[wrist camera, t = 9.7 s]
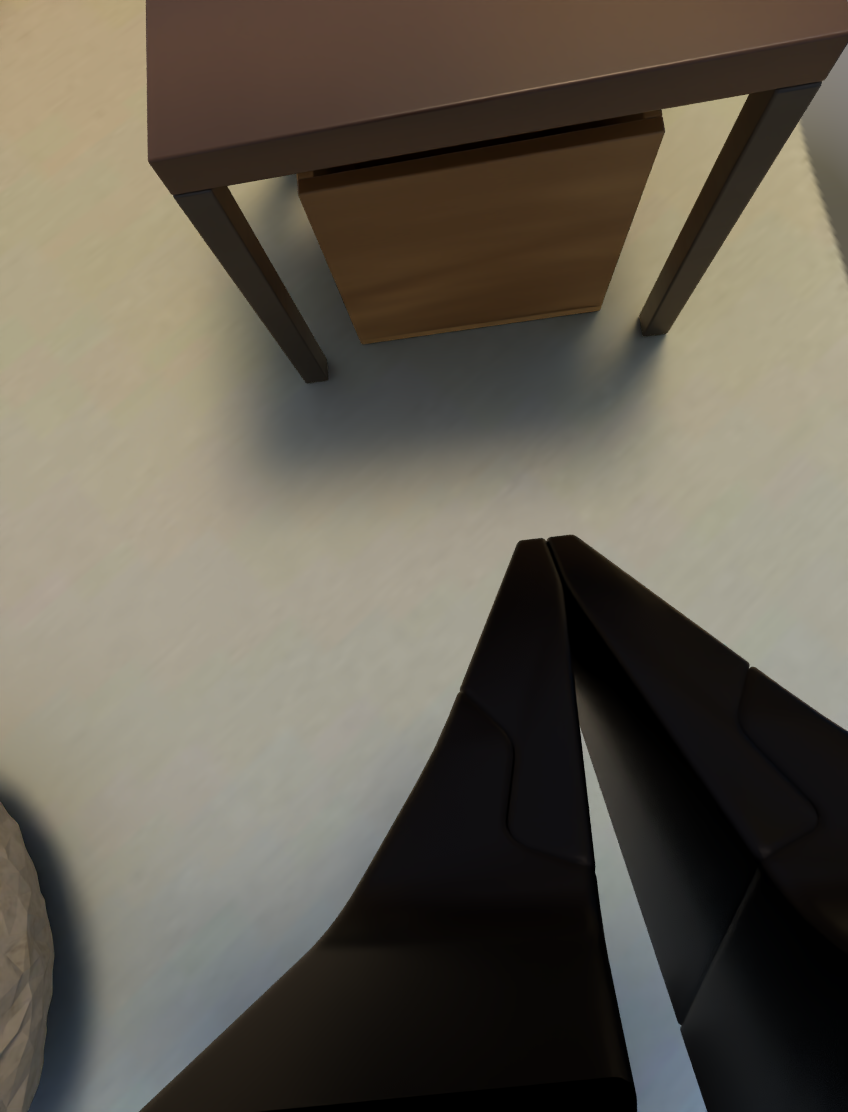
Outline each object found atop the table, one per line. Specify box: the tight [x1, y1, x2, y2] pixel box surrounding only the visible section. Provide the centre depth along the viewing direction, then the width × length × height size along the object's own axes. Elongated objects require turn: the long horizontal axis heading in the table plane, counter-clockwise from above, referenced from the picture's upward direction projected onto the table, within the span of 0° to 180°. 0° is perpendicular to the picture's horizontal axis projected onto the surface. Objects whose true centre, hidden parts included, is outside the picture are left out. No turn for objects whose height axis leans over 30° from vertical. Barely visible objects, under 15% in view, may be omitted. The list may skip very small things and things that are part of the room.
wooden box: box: [297, 110, 665, 344], centre depth 19 cm, size 8×10×8 cm
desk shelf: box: [146, 0, 848, 383], centre depth 18 cm, size 12×15×11 cm
